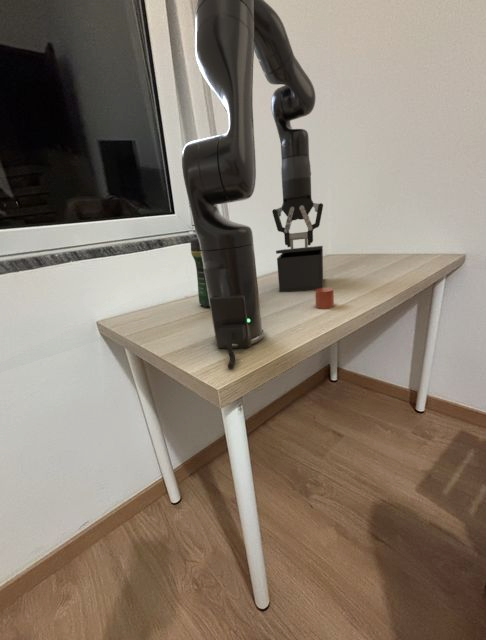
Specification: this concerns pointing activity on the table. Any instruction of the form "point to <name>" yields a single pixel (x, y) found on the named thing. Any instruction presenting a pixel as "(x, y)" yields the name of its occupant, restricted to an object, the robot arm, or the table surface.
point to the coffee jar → (200, 272)
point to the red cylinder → (324, 298)
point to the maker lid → (296, 237)
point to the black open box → (300, 270)
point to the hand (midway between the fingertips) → (299, 245)
